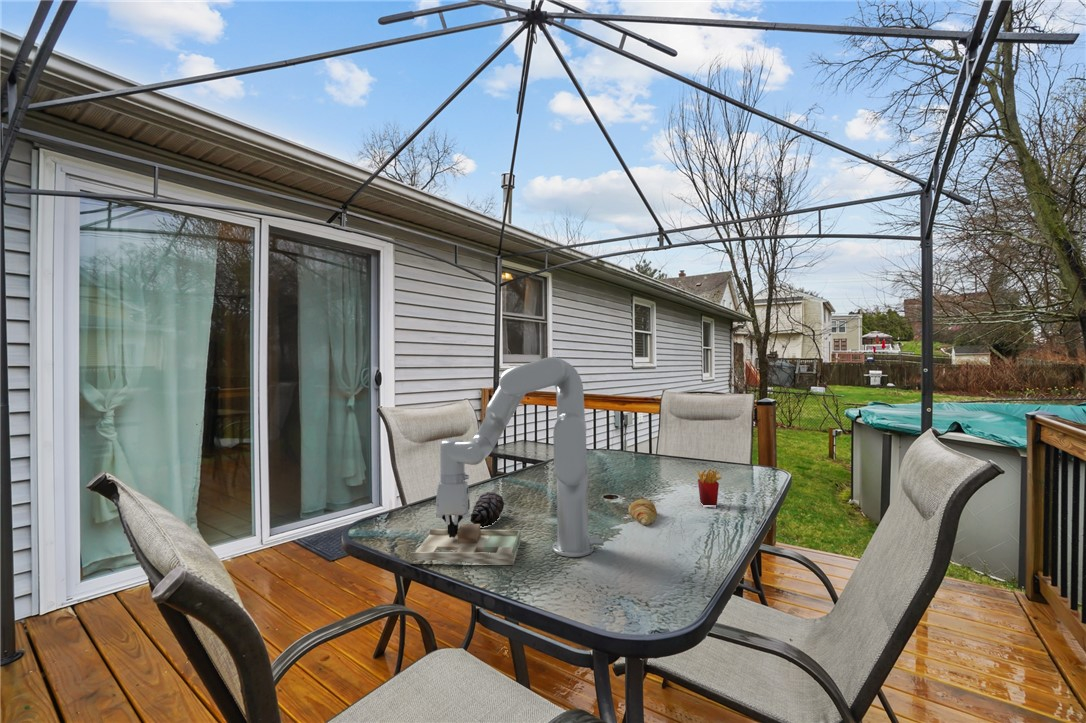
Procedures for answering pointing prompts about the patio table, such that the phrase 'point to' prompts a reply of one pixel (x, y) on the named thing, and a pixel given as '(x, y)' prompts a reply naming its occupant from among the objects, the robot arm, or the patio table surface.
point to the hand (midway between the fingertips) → (452, 535)
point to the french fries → (708, 487)
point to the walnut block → (469, 533)
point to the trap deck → (471, 547)
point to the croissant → (643, 511)
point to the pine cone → (487, 509)
